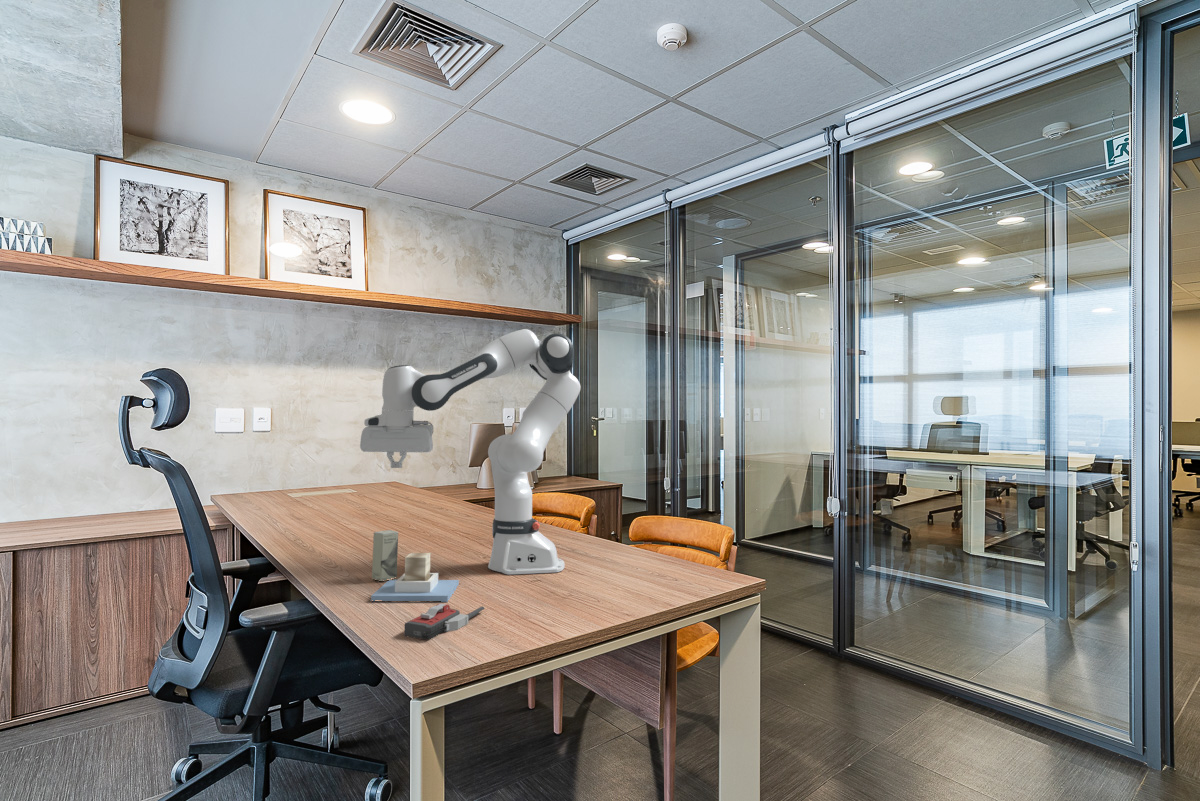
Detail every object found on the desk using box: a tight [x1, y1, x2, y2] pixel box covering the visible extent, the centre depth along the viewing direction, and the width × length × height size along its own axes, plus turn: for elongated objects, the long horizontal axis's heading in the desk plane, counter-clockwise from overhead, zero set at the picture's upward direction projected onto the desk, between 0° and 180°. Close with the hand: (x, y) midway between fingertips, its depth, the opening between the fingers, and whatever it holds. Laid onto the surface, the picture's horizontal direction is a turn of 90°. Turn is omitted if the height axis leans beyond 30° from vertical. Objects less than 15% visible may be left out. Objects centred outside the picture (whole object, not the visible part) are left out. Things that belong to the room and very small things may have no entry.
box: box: [371, 529, 399, 581], centre depth 163 cm, size 5×4×13 cm
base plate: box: [370, 572, 460, 603], centre depth 151 cm, size 18×14×4 cm
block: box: [404, 552, 431, 581], centre depth 151 cm, size 5×5×8 cm
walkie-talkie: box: [403, 603, 485, 640], centre depth 129 cm, size 9×4×20 cm
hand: (396, 467), depth 176 cm, fingers closed
